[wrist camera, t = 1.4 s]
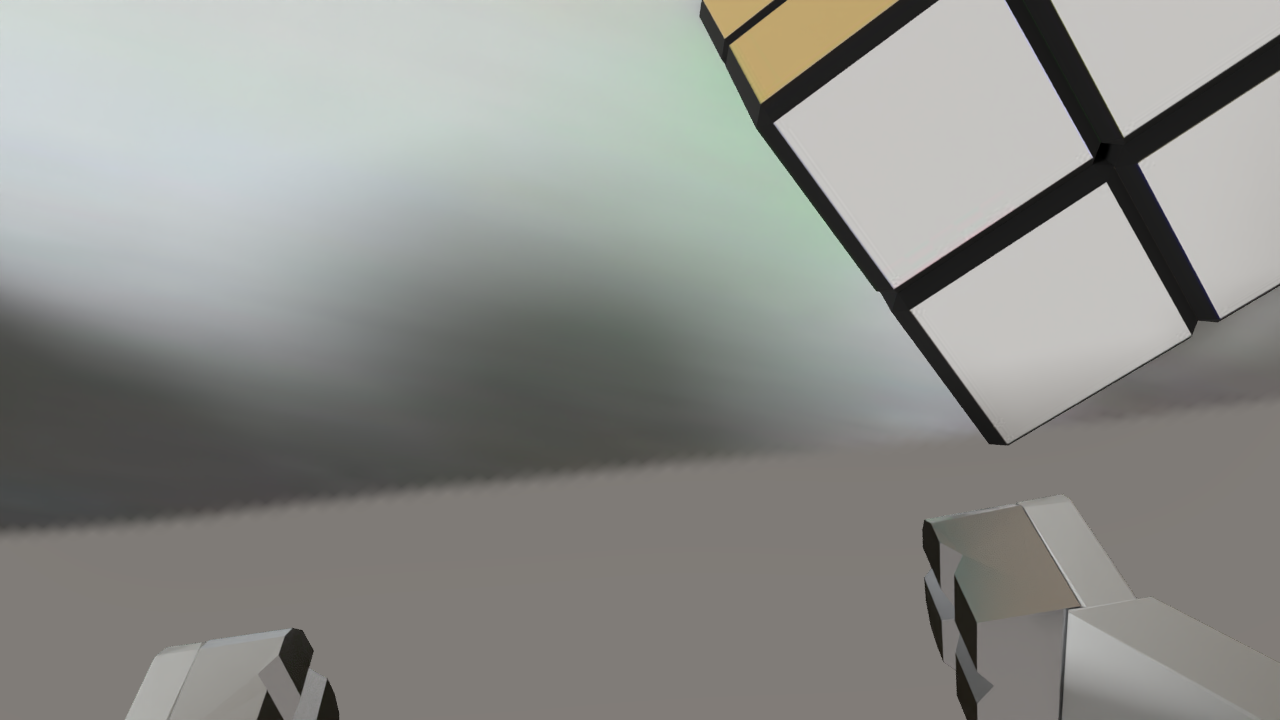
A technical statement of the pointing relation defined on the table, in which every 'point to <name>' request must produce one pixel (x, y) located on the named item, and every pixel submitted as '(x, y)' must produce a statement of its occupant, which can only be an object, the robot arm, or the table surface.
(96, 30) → the table surface
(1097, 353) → the puzzle cube
